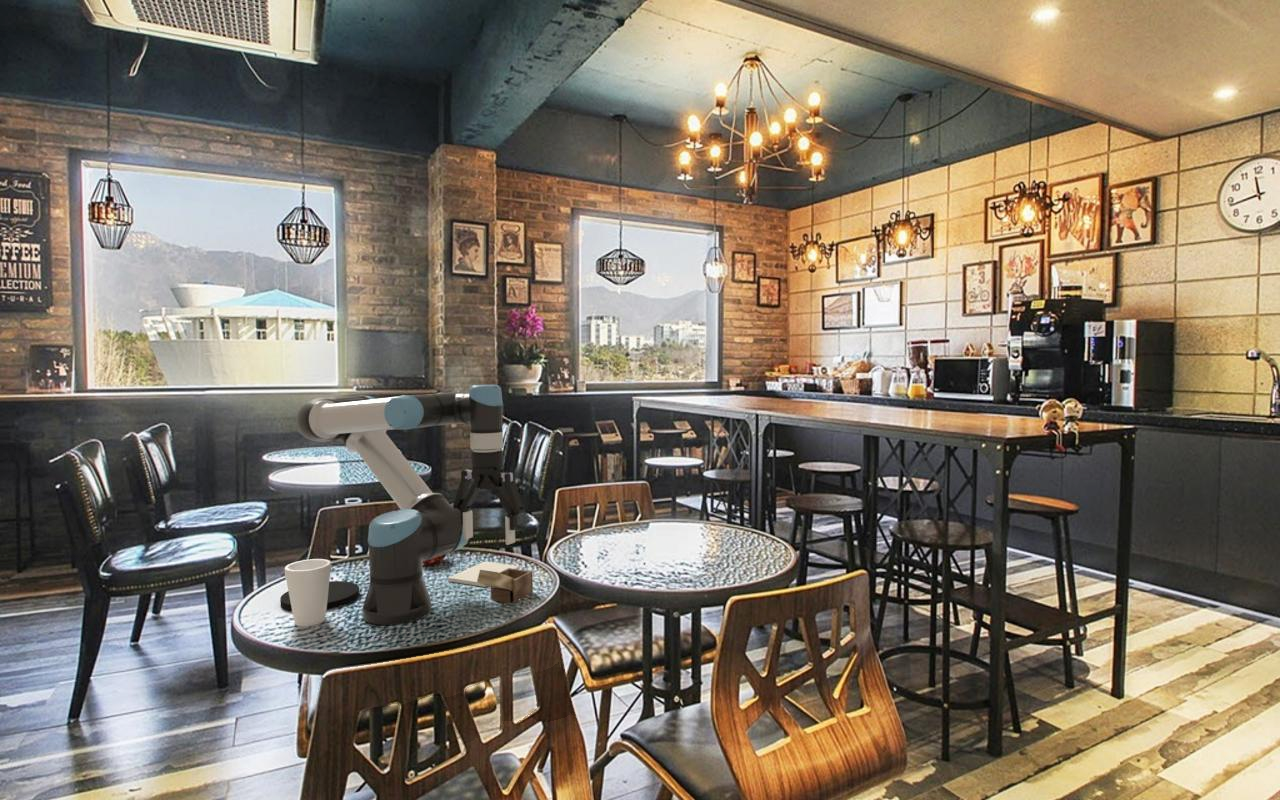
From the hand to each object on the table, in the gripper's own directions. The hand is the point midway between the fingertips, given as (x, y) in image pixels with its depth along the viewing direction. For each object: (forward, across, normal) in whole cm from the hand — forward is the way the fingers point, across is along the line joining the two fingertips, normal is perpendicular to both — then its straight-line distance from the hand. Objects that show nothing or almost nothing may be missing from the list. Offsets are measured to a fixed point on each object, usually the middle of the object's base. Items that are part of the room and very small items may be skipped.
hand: (489, 540), depth 162 cm
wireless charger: (+17, +43, +12) cm, 48 cm away
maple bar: (+13, 0, -4) cm, 14 cm away
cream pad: (+16, +16, -20) cm, 30 cm away
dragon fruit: (+16, +38, -23) cm, 48 cm away
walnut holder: (+16, 0, -9) cm, 18 cm away
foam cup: (+16, +33, +23) cm, 44 cm away
